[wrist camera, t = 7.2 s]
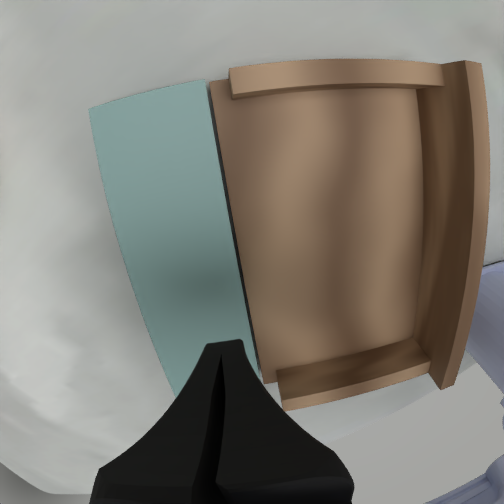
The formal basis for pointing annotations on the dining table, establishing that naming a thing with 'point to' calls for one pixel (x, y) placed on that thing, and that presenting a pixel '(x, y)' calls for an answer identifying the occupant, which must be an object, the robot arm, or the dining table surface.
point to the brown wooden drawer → (357, 217)
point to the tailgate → (172, 222)
